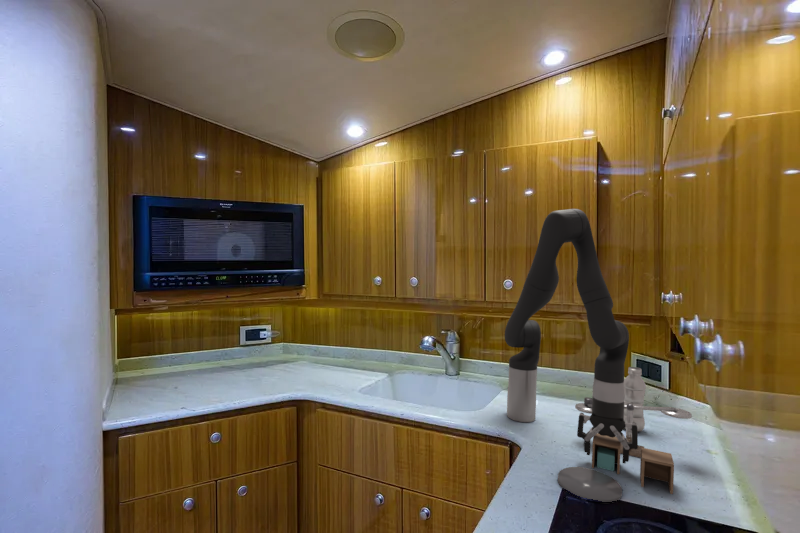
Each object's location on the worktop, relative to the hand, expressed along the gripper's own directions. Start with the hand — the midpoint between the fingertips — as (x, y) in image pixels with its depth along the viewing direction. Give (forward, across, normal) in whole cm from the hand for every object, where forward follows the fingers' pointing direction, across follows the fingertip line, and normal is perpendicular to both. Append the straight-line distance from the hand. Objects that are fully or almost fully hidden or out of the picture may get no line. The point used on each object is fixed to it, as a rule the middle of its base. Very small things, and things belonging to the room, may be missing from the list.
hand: (605, 458), depth 109 cm
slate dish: (+2, -3, -13) cm, 14 cm away
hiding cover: (+2, 0, 0) cm, 2 cm away
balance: (+2, +5, +13) cm, 15 cm away
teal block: (+2, 0, 0) cm, 2 cm away
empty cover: (+2, +11, -4) cm, 12 cm away
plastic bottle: (+2, +7, +31) cm, 32 cm away
